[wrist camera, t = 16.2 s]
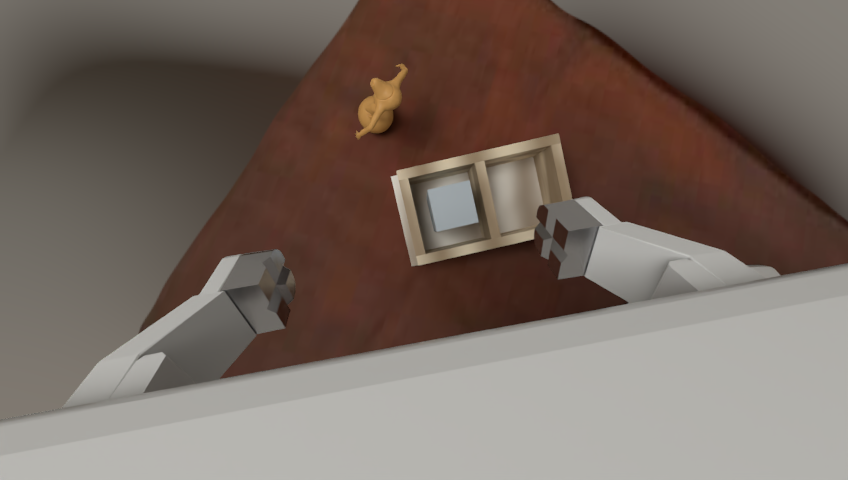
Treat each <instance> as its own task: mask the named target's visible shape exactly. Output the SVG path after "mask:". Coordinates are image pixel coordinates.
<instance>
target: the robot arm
mask: <svg viewBox="0 0 848 480" xmlns="http://www.w3.org/2000/svg"><path fill="white" fill-rule="evenodd" d="M536 217H537V219H538V220H539V221H540V223H539V224H538V225H537V226H536V228H535V230H534V241H535V246H536V249H537V251H538V252H539V254H540V255H541V256H542V257H544V258H546V259H548V267H549V268H550V269H551V271H552V272H553V274H554V275H555V276H556V278H557V279H564V278H570V277H577V276H584V275H585V277H586V278H588V279H590V280H591V281H593V282H595V283H597V284H598V285H600V286H602V287H603V288H605V289H607V290H609V291H610V292H612V293H614V294H615V295H617V296H619V297H621V298H622V299H624V300H626V301H627V302H629V303H628V304H625V305H619V306H614V307H609V308H603V309H598V310H593V311H587V312H582V313H577V314H571V315H566V316H560V317H555V318H549V319H544V320H538V321H533V322H527V323H522V324H516V325H511V326H505V327H500V328H494V329H489V330H483V331H478V332H473V333H467V334H462V335H456V336H451V337H446V338H440V339H435V340H429V341H424V342H419V343H413V344H408V345H402V346H397V347H392V348H386V349H381V350H375V351H370V352H365V353H359V354H354V355H348V356H343V357H338V358H332V359H327V360H321V361H316V362H310V363H305V364H300V365H294V366H289V367H283V368H278V369H273V370H267V371H262V372H256V373H251V374H245V375H240V376H235V377H229V378H224V379H219V378H220V377H221V376H222V375H223V374H224V372H225V371H226V370H227V369H228V368H229V367H230V365H231V364H232V363H233V362H234V361H235V360H236V359H237V357H238V356H239V355H240V354H241V353H242V352H243V350H244V349H245V348H246V347H247V346H248V345H249V344H250V342H251V341H252V340H253V339H254V338H255V337H256V334H259V333H264V332H269V331H274V330H278V329H283V328H285V327H286V324H287V321H288V317H289V314H290V309H289V307H288V304H289V303H290V302H291V301H292V300H293V299H294V296H295V280H294V277H293V274H292V272H291V270H289V269H287V268H286V267H284V266H283V264H284V261H285V259H284V257H283V255H282V253H281V251H279V250H277V249H273V250H267V251H260V252H253V253H246V254H239V255H233V256H228V257H225V258H223V259H222V260H221V262H220V263H219V265H218V266H217V268H216V269H215V271H214V273H213V274H212V276H211V277H210V279H209V280H208V282H207V283H206V285H205V287H204V288H203V290H202V291H201V293H200V294H199V295H197V296H193V297H191V298H190V299H189V300H187V301H186V302H184V303H183V304H181V305H180V306H179V307H177V308H176V309H174V310H173V311H171V312H170V313H168V314H167V315H166V316H164V317H163V318H161V319H160V320H158V321H157V322H156V323H154V324H153V325H151V326H150V327H148V328H147V329H145V330H144V331H143V332H141V333H140V334H138V335H137V336H135V337H134V338H133V339H131V340H130V341H128V342H127V343H125V344H124V345H122V346H121V347H120V348H118V349H117V350H115V351H114V352H113V353H111V354H110V355H108V356H107V357H105V358H104V359H102V360H101V361H100V362H98V364H97V365H96V366H95V367H94V368H93V370H92V371H91V372H90V373H89V375H88V376H87V377H86V378H85V380H84V381H83V382H82V383H81V385H80V386H79V387H78V388H77V390H76V391H75V392H74V393H73V395H72V396H71V397H70V398H69V400H68V401H67V402H66V403H65V405H64V406H63V407H62V408H61V409H56V410H50V411H45V412H39V413H34V414H28V415H23V416H18V417H12V418H8V419H1V420H0V480H848V263H847V264H841V265H836V266H831V267H825V268H820V269H814V270H809V271H803V272H798V273H793V274H787V275H782V276H781V275H780V274H779V273H778V272H777V271H776V270H775V269H774V268H772V267H769V266H764V265H745V264H744V263H742V262H741V261H739V260H738V259H736V258H735V257H733V256H731V255H730V254H728V253H727V252H725V251H723V250H720V249H717V248H713V247H710V246H707V245H703V244H700V243H697V242H693V241H690V240H686V239H683V238H680V237H676V236H673V235H670V234H666V233H663V232H660V231H656V230H653V229H649V228H646V227H643V226H639V225H636V224H633V223H629V222H620V221H619V220H618V219H617V218H615V217H614V216H613V215H612V214H611V213H609V212H608V211H607V210H606V209H604V208H603V207H602V206H601V205H599V204H598V203H597V202H596V201H594V200H593V199H592V198H591V197H581V198H576V199H571V200H567V201H562V202H556V203H551V204H545V205H540V206H539V208H538V210H537V215H536Z"/></svg>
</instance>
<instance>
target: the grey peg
mask: <svg viewBox="0 0 848 480" xmlns="http://www.w3.org/2000/svg"><path fill="white" fill-rule="evenodd" d="M426 199H427V203H428V207H429V212H430V216H431V221H432V225H433V229H434V231H436V232H439V231H443V230H447V229H452V228H456V227H460V226H465V225H469V224H473V223H478V222H479V221H478V216H477V212H476V207H475V203H474V198H473V194H472V189H471V185H470V180H468V181H463V182H459V183H455V184H451V185H446V186H442V187H438V188H433V189H429V190H427V198H426Z"/></svg>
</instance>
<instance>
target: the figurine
mask: <svg viewBox="0 0 848 480" xmlns="http://www.w3.org/2000/svg"><path fill="white" fill-rule="evenodd" d="M396 67H400V68H401V70H402V71H401V72H400V73H399V74H398V75H397V76H396V78H394V79H393V80H391V81H387V82H385V81H382V80H380V79H378V78H373V79H372V80H371V87H372V89H373V91H374V96H370V97H367V98H366V99H364V100H363V101H362V103H361V104H360V106H359V110H358V117H359V121H360V123H361V125H362V126H363V127H364V129H363V130H361V131H360V133H358V131H356V132H357V134H355V135H356V138H358V139H360V138H361V136H363V135H365V134H367V133H368V132H372V133H382V132H384V131H386V130H387V129H388V128H389V127H390V126H391V124H392V121H393V110H394V109H396V108H397V107H398V106H399V105H400V103H401V100H402V94H401V91H400V84H401V82H402V81H403V79H404V78H405V76H406V74H407V72H408V69H407V68H406V67H405V65H404V64H399V65H397V66H396Z"/></svg>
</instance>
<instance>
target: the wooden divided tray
mask: <svg viewBox="0 0 848 480" xmlns="http://www.w3.org/2000/svg"><path fill="white" fill-rule="evenodd" d="M391 179H392V183H393V188H394V192H395V196H396V201H397V205H398V209H399V214H400V218H401V222H402V226H403V231H404V235H405V239H406V244H407V248H408V252H409V257H410V261H411V265H412V266H416V265H418V266H419V265H423V264H428V263H432V262H437V261H441V260H445V259H450V258H454V257H458V256H463V255H467V254H471V253H476V252H480V251H485V250H489V249H493V248H498V247H502V246H506V245H511V244H515V243H520V242H524V241H528V240H533V239H534V230H535V228H536V226H537V225H538V224H539V223H540V221H539V220H538V219H537V217H536V215H537V210H538V208H539V206H540V205H545V204H551V203H556V202H562V201H567V200H571V199H572V195H571V190H570V186H569V181H568V176H567V171H566V166H565V162H564V157H563V152H562V147H561V142H560V138H559V133H558V134H554V135H550V136H545V137H541V138H537V139H532V140H528V141H524V142H519V143H515V144H511V145H506V146H502V147H498V148H493V149H489V150H485V151H480V152H476V153H472V154H467V155H463V156H459V157H454V158H450V159H446V160H441V161H437V162H433V163H428V164H424V165H420V166H415V167H411V168H407V169H402V170H398V171H397V175H396V176H391ZM468 180H470V185H471V189H472V194H473V198H474V203H475V207H476V212H477V216H478V221H479V222H478V223H473V224H469V225H465V226H460V227H456V228H452V229H447V230H443V231H439V232H436V231H434V229H433V225H432V221H431V216H430V212H429V207H428V203H427V199H426V198H427V190H429V189H433V188H438V187H442V186H446V185H451V184H455V183H459V182H463V181H468Z"/></svg>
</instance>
